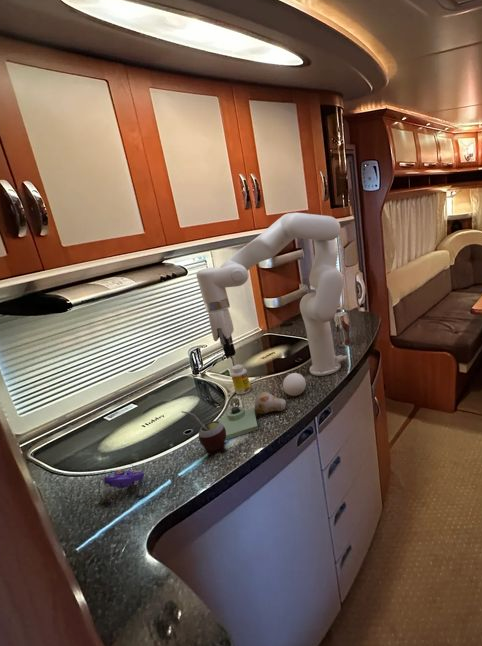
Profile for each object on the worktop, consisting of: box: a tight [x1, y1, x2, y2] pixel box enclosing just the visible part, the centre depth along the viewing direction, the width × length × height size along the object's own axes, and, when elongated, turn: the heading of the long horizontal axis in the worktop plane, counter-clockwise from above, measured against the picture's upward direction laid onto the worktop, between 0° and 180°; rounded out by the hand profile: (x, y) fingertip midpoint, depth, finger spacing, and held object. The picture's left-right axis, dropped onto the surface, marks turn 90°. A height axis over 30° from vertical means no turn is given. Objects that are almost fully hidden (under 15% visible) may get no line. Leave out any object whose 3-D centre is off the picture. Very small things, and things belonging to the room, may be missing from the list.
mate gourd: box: [181, 410, 227, 458], centre depth 105 cm, size 8×8×15 cm
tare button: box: [230, 405, 240, 414], centre depth 121 cm, size 2×2×2 cm
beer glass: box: [332, 311, 352, 348], centre depth 171 cm, size 7×7×15 cm
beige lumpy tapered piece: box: [254, 391, 287, 415], centre depth 123 cm, size 8×10×10 cm
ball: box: [282, 372, 307, 397], centre depth 132 cm, size 8×8×8 cm
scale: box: [218, 406, 259, 441], centre depth 118 cm, size 11×13×3 cm
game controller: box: [98, 462, 145, 505], centre depth 95 cm, size 10×8×10 cm
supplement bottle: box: [230, 363, 252, 395], centre depth 139 cm, size 6×6×10 cm
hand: (230, 355), depth 129 cm, fingers closed
